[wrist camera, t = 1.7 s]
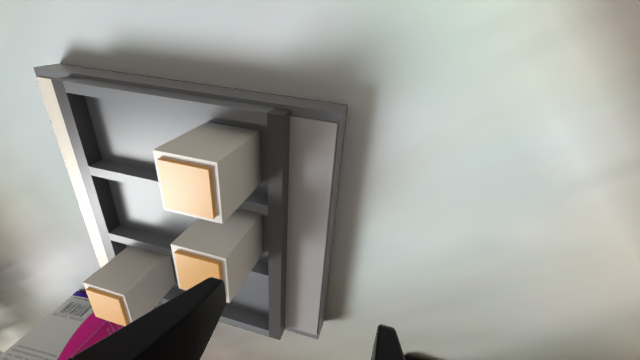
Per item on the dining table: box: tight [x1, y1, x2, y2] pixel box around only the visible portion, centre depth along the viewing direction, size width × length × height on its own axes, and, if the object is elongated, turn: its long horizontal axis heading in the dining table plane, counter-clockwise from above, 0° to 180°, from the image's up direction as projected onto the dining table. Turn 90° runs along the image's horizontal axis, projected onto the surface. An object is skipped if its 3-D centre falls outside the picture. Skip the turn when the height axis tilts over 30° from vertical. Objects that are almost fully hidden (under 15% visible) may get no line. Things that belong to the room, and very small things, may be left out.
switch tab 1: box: [83, 245, 176, 326], centre depth 22 cm, size 3×3×4 cm
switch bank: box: [34, 64, 347, 340], centre depth 21 cm, size 18×16×2 cm
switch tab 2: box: [153, 122, 261, 224], centre depth 16 cm, size 3×3×4 cm
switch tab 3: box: [171, 208, 263, 303], centre depth 18 cm, size 3×3×4 cm
